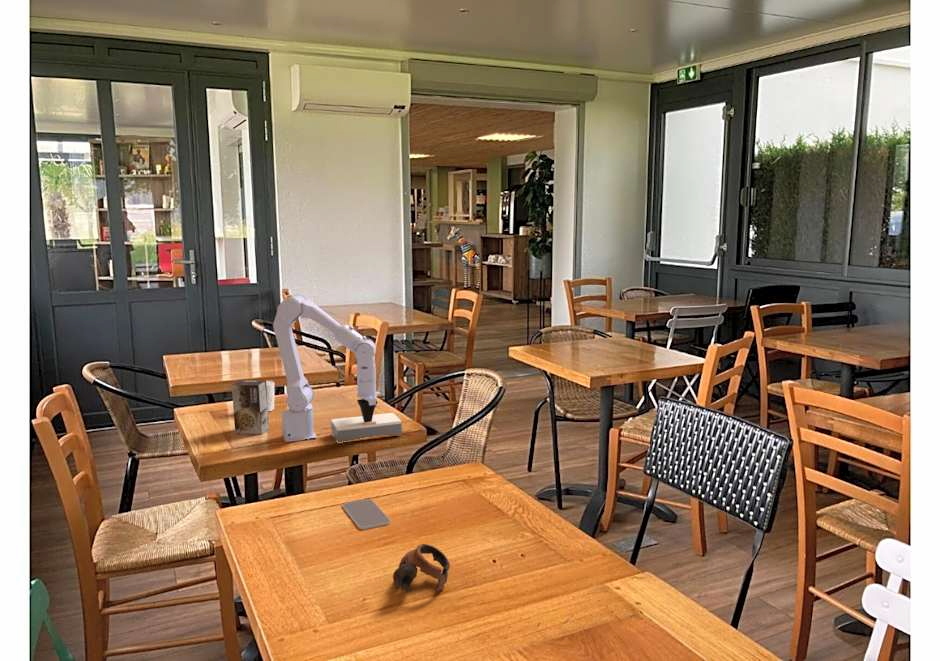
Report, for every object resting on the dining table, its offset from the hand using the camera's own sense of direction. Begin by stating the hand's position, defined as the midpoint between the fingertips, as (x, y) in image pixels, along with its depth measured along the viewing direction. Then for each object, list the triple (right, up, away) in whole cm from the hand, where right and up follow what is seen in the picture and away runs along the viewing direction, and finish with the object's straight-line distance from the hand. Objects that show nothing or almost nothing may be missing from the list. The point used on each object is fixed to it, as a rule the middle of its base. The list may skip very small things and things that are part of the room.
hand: (367, 422), depth 219 cm
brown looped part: (+22, -20, -87) cm, 92 cm away
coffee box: (-38, -4, +7) cm, 39 cm away
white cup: (-41, 0, +30) cm, 51 cm away
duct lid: (-1, 0, +2) cm, 2 cm away
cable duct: (-1, -4, +3) cm, 5 cm away
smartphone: (+8, -15, -56) cm, 58 cm away
